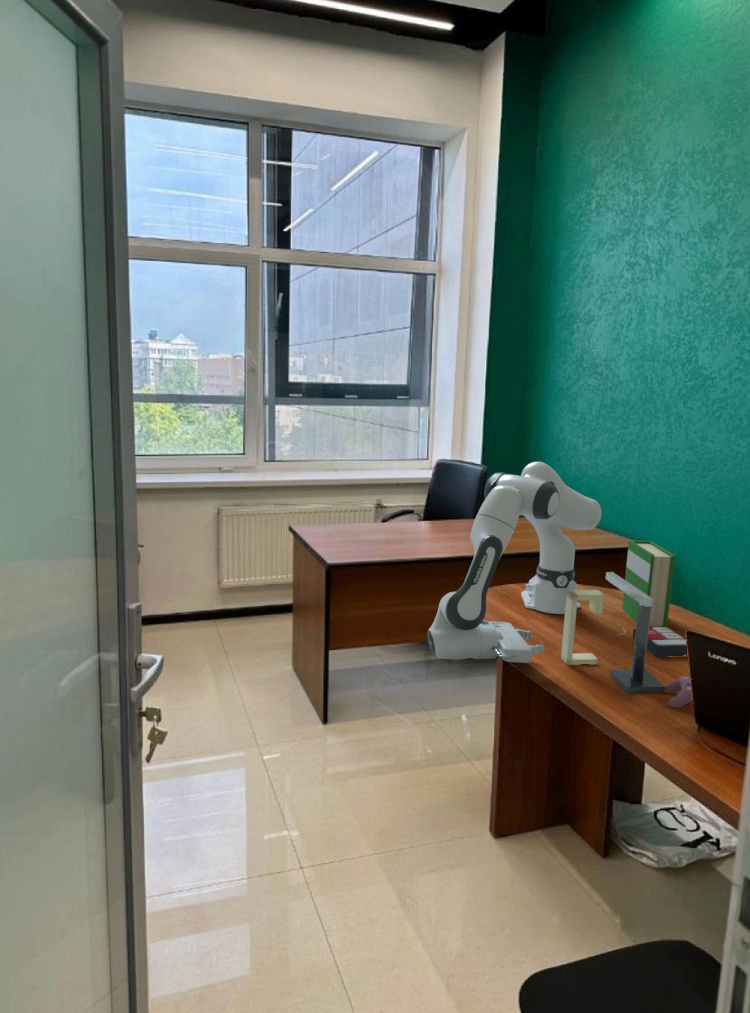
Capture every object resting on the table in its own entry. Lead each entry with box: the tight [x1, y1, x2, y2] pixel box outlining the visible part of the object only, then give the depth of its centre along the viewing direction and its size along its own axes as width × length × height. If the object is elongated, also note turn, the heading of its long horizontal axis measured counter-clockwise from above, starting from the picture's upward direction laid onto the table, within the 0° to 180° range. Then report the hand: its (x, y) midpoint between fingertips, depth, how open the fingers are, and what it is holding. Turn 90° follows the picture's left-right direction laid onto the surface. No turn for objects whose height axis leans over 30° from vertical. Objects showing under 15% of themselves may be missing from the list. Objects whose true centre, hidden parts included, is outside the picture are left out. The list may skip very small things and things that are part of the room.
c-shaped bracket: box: [560, 589, 605, 666], centre depth 191 cm, size 4×9×20 cm, turn 96°
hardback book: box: [621, 540, 676, 628], centre depth 224 cm, size 18×7×24 cm, turn 2°
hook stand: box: [605, 571, 666, 694], centre depth 186 cm, size 26×10×24 cm, turn 6°
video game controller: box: [664, 675, 693, 709], centre depth 171 cm, size 10×5×7 cm, turn 164°
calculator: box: [632, 626, 687, 658], centre depth 205 cm, size 11×4×15 cm
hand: (537, 641), depth 190 cm, fingers open, 8 cm apart
